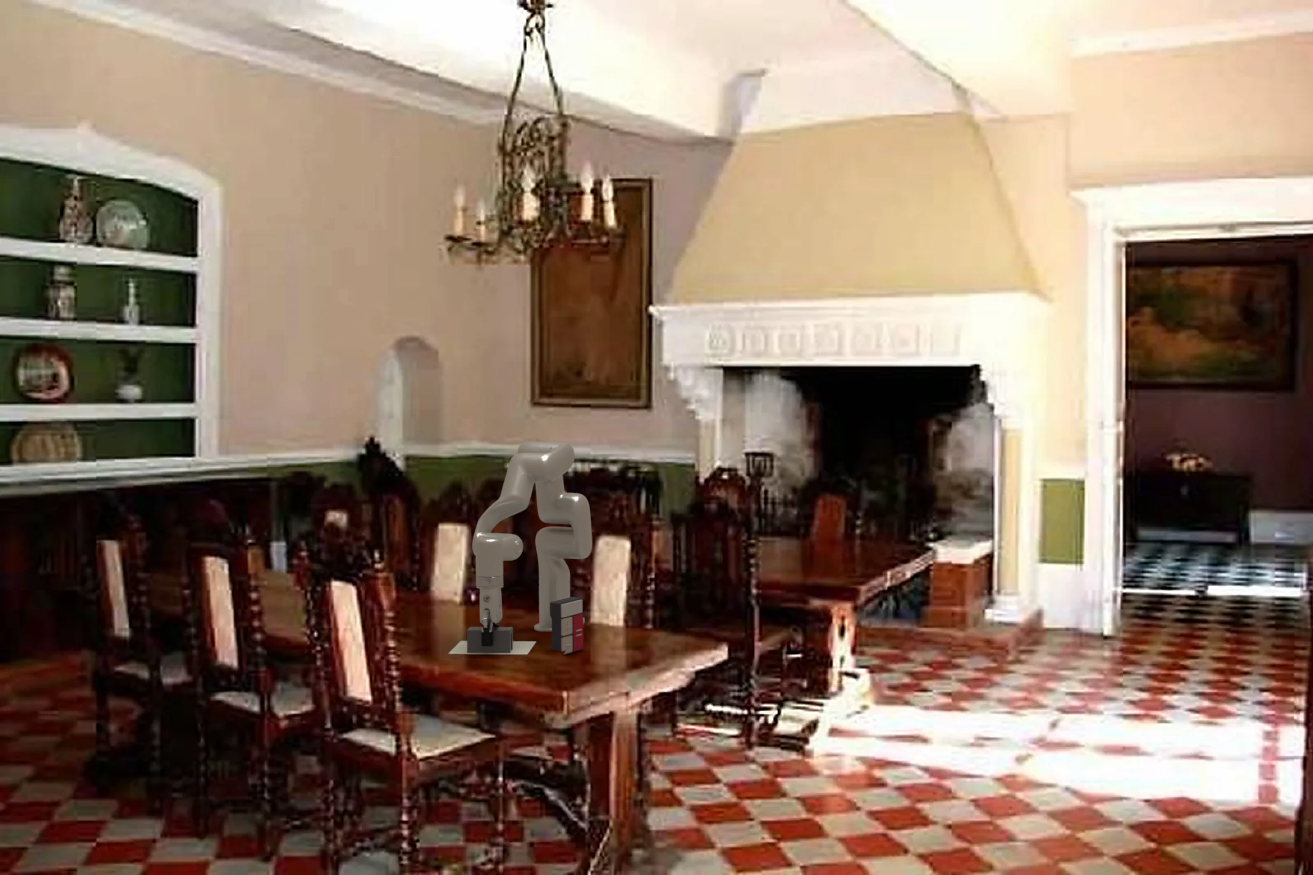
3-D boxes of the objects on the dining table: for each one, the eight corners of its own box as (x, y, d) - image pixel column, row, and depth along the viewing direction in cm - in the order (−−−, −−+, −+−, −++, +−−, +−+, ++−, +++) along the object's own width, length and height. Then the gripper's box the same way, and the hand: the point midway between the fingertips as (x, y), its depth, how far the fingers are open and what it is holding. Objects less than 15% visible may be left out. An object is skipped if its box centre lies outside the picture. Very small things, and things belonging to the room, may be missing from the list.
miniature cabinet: (562, 656, 388) (562, 603, 387) (549, 655, 390) (549, 602, 389) (585, 650, 397) (584, 597, 396) (572, 648, 399) (572, 596, 399)
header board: (536, 646, 402) (536, 626, 402) (527, 659, 384) (527, 638, 384) (460, 646, 403) (460, 625, 403) (448, 659, 385) (448, 637, 385)
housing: (512, 649, 391) (512, 627, 391) (510, 652, 386) (509, 630, 386) (470, 648, 391) (470, 626, 391) (467, 652, 386) (466, 630, 386)
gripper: (497, 586, 379) (498, 649, 380) (507, 576, 396) (508, 636, 397) (470, 586, 379) (471, 649, 380) (481, 576, 397) (482, 636, 398)
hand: (490, 642), depth 389 cm, fingers open, 9 cm apart
